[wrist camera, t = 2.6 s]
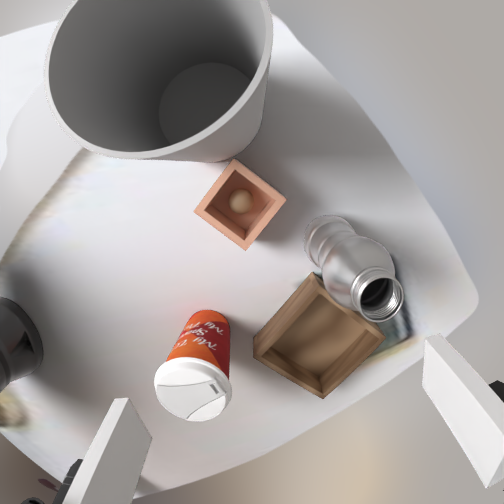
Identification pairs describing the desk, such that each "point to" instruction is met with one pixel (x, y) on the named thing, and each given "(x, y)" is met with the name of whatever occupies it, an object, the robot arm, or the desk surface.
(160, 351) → the desk surface
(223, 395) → the coffee cup
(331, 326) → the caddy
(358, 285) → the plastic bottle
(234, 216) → the planter
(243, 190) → the cork ball
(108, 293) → the desk surface
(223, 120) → the cylinder vase
